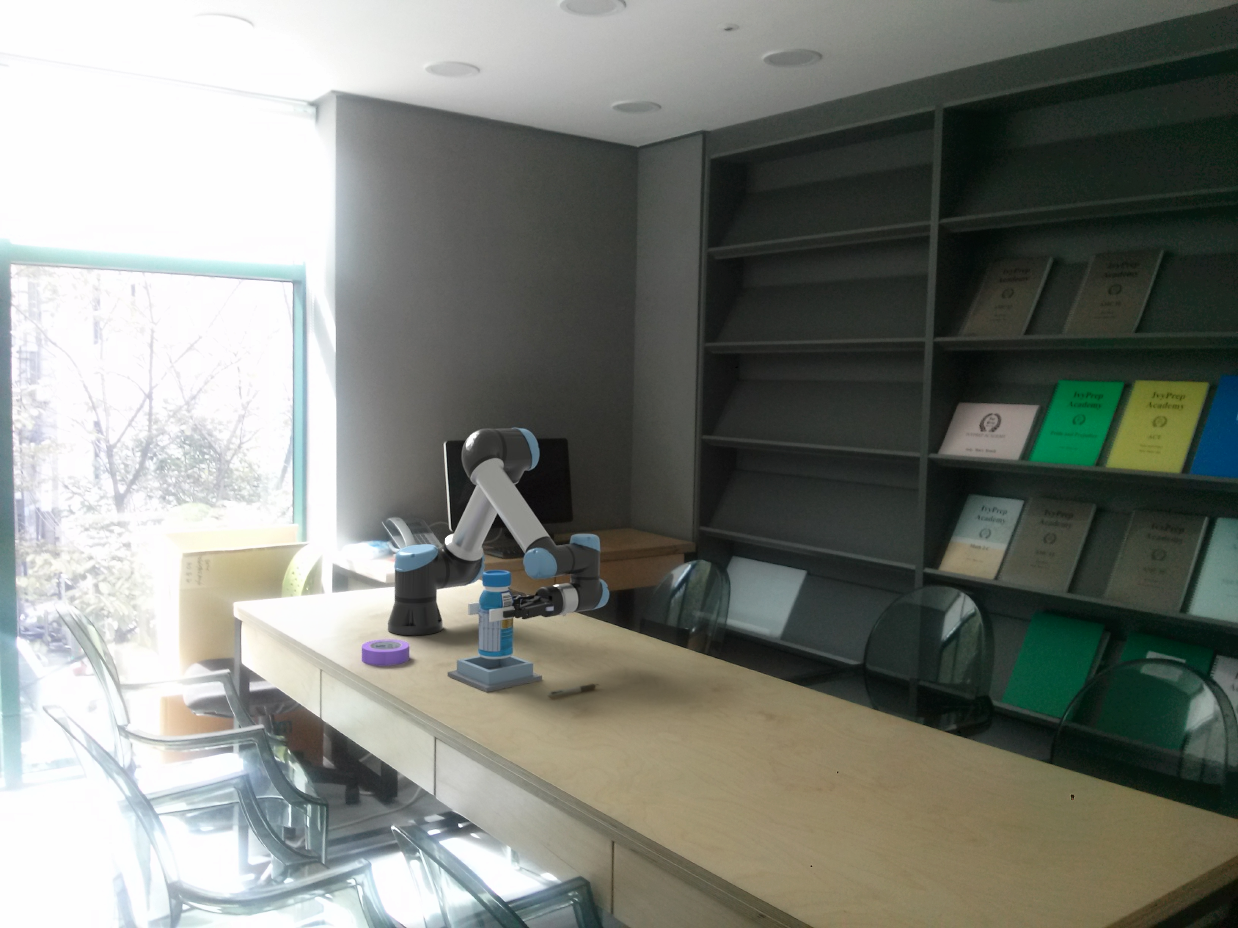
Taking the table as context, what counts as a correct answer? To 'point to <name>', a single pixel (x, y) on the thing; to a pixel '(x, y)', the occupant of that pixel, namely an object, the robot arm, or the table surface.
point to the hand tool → (517, 592)
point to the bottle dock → (494, 672)
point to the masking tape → (385, 652)
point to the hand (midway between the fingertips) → (479, 612)
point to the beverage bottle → (498, 633)
